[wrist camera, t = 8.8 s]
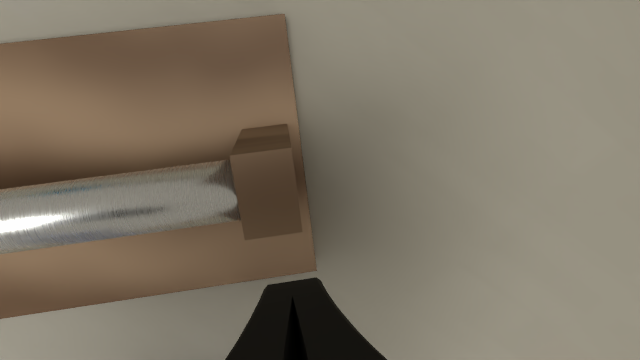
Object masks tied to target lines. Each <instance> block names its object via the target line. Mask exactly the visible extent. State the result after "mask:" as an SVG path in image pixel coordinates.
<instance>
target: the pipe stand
mask: <svg viewBox="0 0 640 360" xmlns="http://www.w3.org/2000/svg"><path fill="white" fill-rule="evenodd" d="M311 271H317V269H316V261H315V253H314V245H313V237H312V229H311V221H310V213H309V205H308V197H307V189H306V181H305V173H304V165H303V157H302V149H301V141H300V133H299V125H298V117H297V109H296V101H295V93H294V85H293V77H292V69H291V61H290V53H289V45H288V37H287V29H286V21H285V14H278V15H269V16H259V17H250V18H240V19H231V20H222V21H212V22H203V23H193V24H184V25H174V26H165V27H155V28H146V29H136V30H127V31H118V32H108V33H99V34H89V35H80V36H70V37H61V38H51V39H42V40H33V41H23V42H14V43H4V44H0V319H2V318H9V317H15V316H22V315H29V314H35V313H42V312H48V311H55V310H61V309H68V308H75V307H81V306H88V305H94V304H101V303H107V302H114V301H121V300H127V299H134V298H140V297H147V296H153V295H160V294H167V293H173V292H180V291H186V290H193V289H199V288H206V287H213V286H219V285H226V284H232V283H239V282H245V281H252V280H259V279H265V278H272V277H278V276H285V275H291V274H298V273H305V272H311Z"/></svg>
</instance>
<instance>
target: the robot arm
mask: <svg viewBox="0 0 640 360" xmlns="http://www.w3.org/2000/svg"><path fill="white" fill-rule="evenodd" d="M225 360H387V359H386V358H385V357H384V356H382V355H381V354H380V353H379V352H378V351H377V350H376V349H375V348H374V347H373V346H372V345H371V344H370V343H369V342H368V341H367V340H366V339H365V338H364V337H363V336H362V335H361V334H360V333H359V332H358V331H357V330H356V328H355V327H354V326H353V325H352V324H351V323H350V322H349V320H348V319H347V318H346V317H345V316H344V314H343V313H342V312H341V311H340V310H339V308H338V307H337V306H336V304H335V303H334V302H333V300H332V299H331V297H330V296H329V294H328V293H327V291H326V290H325V288H324V286H323V284H322V282H321V281H320V280H319V279H318V278H310V279H304V280H297V281H290V282H284V283H277V284H271V285H267V287H266V288H265V289H264V291H263V293H262V296H261V298H260V300H259V302H258V304H257V306H256V308H255V310H254V312H253V314H252V316H251V318H250V320H249V322H248V323H247V325H246V327H245V329H244V330H243V332H242V334H241V336H240V337H239V339H238V341H237V342H236V344H235V346H234V347H233V349H232V350H231V352H230V353H229V355H228V356H227V358H226V359H225Z"/></svg>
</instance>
